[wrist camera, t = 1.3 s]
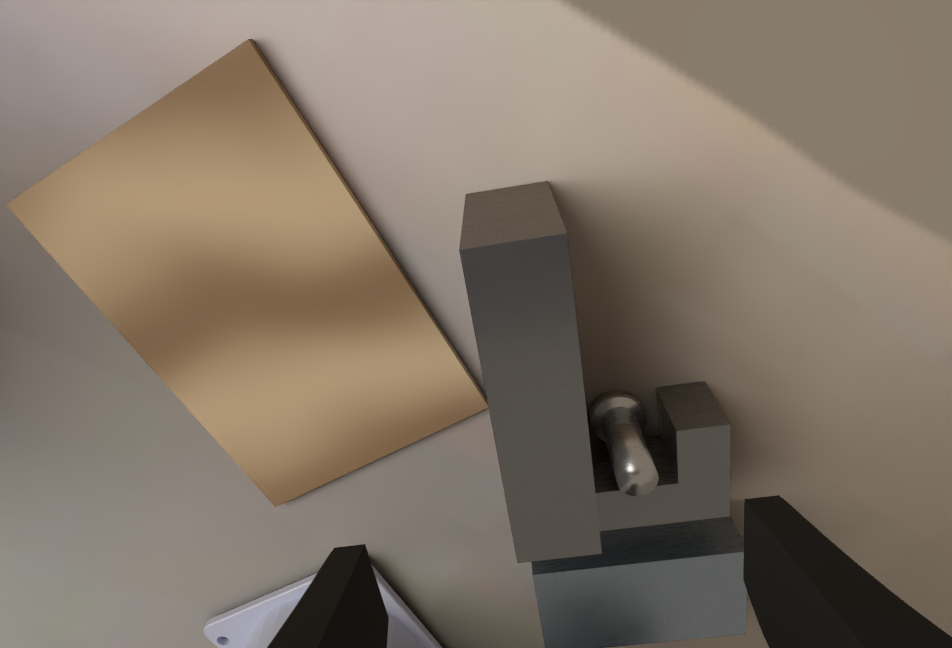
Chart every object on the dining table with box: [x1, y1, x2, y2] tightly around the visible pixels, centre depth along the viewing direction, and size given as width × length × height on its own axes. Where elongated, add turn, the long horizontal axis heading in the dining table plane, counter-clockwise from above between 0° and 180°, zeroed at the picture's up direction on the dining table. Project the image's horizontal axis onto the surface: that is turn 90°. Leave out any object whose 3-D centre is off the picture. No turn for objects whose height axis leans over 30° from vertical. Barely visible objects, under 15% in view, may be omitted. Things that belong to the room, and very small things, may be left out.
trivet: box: [6, 39, 488, 507], centre depth 20 cm, size 13×9×1 cm
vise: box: [532, 391, 747, 648], centre depth 22 cm, size 9×7×4 cm
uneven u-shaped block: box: [459, 181, 731, 563], centre depth 18 cm, size 11×7×5 cm, turn 9°
